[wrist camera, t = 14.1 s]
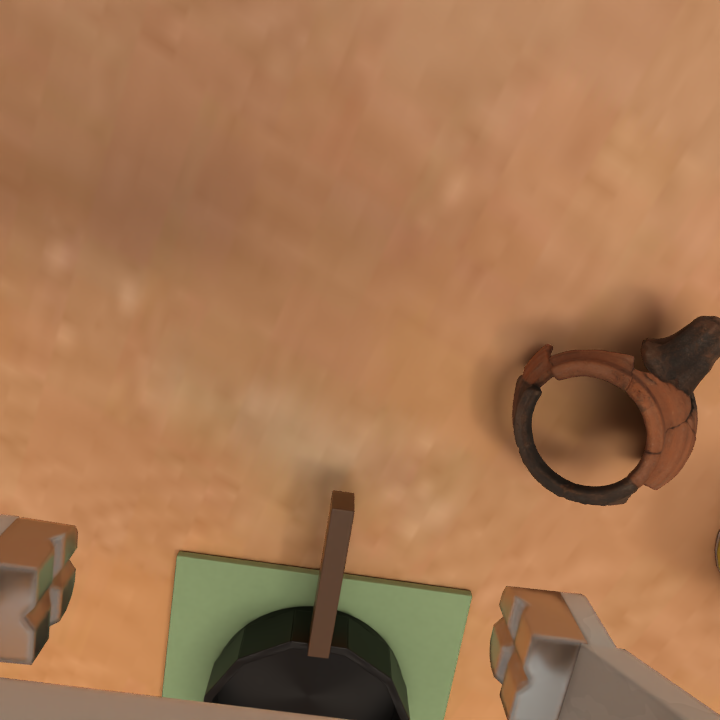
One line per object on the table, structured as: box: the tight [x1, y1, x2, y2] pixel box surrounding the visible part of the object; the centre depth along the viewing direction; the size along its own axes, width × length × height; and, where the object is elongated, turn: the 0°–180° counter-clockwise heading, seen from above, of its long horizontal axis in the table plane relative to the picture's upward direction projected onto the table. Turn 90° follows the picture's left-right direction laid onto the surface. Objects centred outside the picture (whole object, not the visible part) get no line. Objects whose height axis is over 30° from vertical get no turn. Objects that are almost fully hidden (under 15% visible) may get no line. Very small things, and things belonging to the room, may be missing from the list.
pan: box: [203, 490, 410, 720], centre depth 39 cm, size 12×21×4 cm, turn 171°
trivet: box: [162, 551, 472, 720], centre depth 42 cm, size 18×16×1 cm
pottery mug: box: [512, 316, 720, 506], centre depth 35 cm, size 12×10×8 cm
